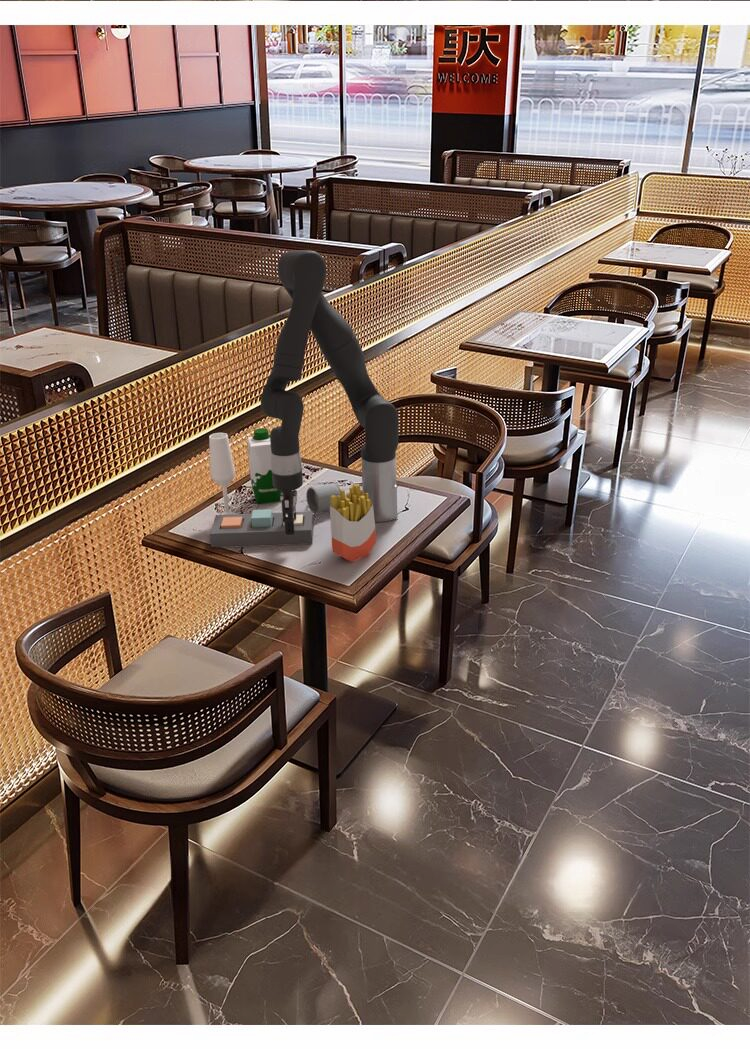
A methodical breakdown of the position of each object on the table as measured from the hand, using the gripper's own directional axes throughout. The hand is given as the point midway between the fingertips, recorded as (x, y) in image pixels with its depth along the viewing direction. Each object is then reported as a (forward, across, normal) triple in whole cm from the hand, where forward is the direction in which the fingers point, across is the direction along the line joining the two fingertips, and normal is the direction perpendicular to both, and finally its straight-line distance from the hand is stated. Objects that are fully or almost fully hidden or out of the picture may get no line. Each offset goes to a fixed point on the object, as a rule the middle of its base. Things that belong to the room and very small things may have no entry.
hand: (291, 526), depth 221 cm
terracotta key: (+3, +4, +16) cm, 17 cm away
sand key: (+3, +4, 0) cm, 6 cm away
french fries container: (+5, -9, -16) cm, 19 cm away
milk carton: (+5, +28, +9) cm, 30 cm away
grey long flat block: (+5, +4, +8) cm, 10 cm away
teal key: (+1, +4, +8) cm, 9 cm away
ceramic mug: (+5, +20, -7) cm, 22 cm away
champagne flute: (+5, +16, +19) cm, 25 cm away
